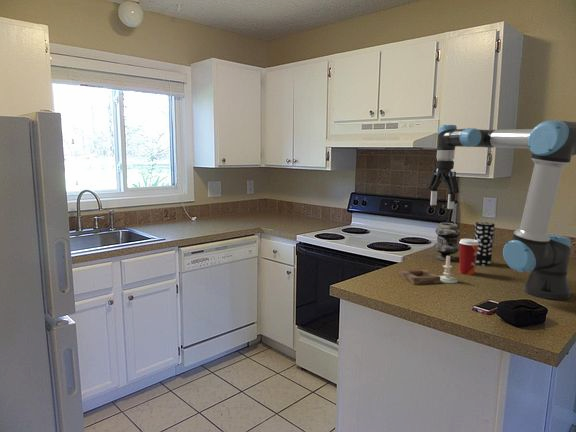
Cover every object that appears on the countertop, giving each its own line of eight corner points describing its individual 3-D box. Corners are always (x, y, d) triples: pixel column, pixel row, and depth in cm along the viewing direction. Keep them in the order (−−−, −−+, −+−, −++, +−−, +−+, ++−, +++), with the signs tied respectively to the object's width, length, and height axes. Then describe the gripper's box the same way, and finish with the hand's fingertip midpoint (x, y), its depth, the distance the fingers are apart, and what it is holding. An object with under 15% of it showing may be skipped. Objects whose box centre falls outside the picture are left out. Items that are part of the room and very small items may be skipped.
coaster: (462, 282, 172) (462, 281, 172) (443, 283, 170) (443, 282, 170) (449, 276, 181) (449, 275, 181) (430, 277, 179) (431, 276, 179)
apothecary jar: (460, 262, 205) (463, 226, 203) (435, 260, 207) (438, 225, 205) (455, 256, 217) (457, 222, 215) (431, 255, 219) (433, 221, 216)
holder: (439, 282, 172) (440, 276, 171) (413, 284, 169) (413, 278, 169) (424, 274, 183) (424, 269, 183) (399, 275, 181) (399, 270, 180)
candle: (452, 277, 177) (454, 253, 176) (454, 281, 172) (456, 256, 171) (439, 276, 179) (441, 252, 177) (440, 279, 174) (442, 255, 172)
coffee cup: (478, 276, 182) (481, 242, 180) (458, 274, 184) (461, 241, 182) (474, 270, 190) (476, 238, 188) (455, 269, 192) (457, 237, 190)
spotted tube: (474, 265, 201) (477, 224, 198) (470, 260, 208) (474, 221, 206) (492, 266, 199) (496, 225, 196) (488, 262, 207) (492, 222, 204)
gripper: (470, 160, 176) (466, 210, 179) (436, 159, 200) (433, 203, 203) (454, 160, 174) (450, 210, 177) (422, 159, 198) (419, 203, 201)
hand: (441, 206), depth 190 cm, fingers open, 13 cm apart
